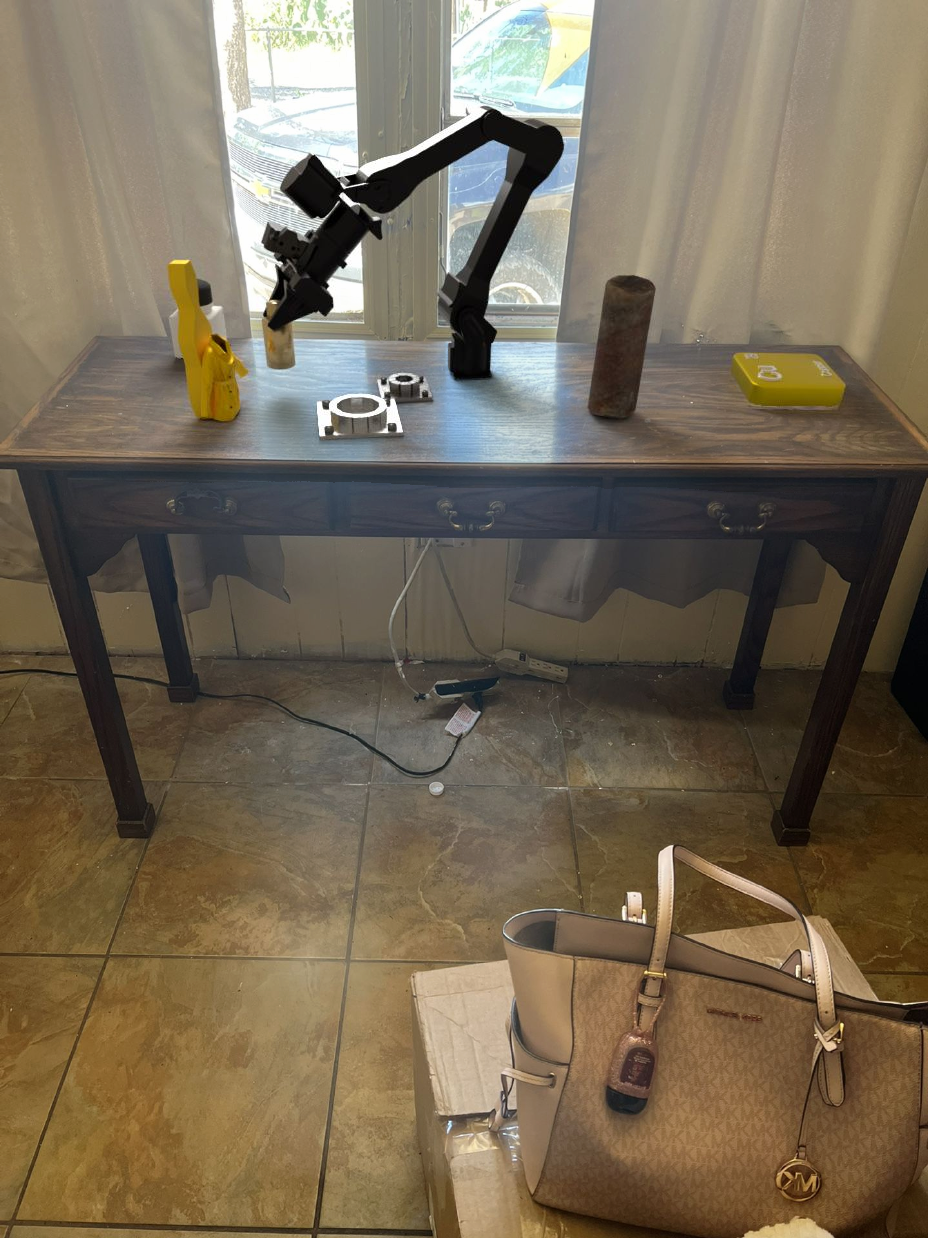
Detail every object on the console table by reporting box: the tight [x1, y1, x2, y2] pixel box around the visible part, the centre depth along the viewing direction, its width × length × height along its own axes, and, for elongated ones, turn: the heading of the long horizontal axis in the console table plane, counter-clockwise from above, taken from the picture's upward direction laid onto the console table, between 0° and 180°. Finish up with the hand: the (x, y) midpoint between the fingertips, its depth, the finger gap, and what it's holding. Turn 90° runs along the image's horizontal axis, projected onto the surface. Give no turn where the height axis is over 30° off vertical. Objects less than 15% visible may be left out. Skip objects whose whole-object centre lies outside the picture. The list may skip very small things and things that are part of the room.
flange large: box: [316, 393, 404, 441], centre depth 133 cm, size 12×12×2 cm
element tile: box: [729, 352, 847, 407], centre depth 145 cm, size 15×15×5 cm
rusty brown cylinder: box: [587, 274, 656, 420], centre depth 131 cm, size 8×7×20 cm
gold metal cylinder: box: [261, 300, 296, 371], centre depth 136 cm, size 4×4×10 cm
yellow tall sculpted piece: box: [167, 259, 249, 422], centre depth 128 cm, size 18×8×22 cm, turn 172°
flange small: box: [376, 372, 433, 403], centre depth 142 cm, size 8×8×2 cm
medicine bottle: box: [168, 278, 228, 359], centre depth 151 cm, size 7×7×12 cm
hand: (267, 322), depth 134 cm, fingers closed on gold metal cylinder, 4 cm apart
